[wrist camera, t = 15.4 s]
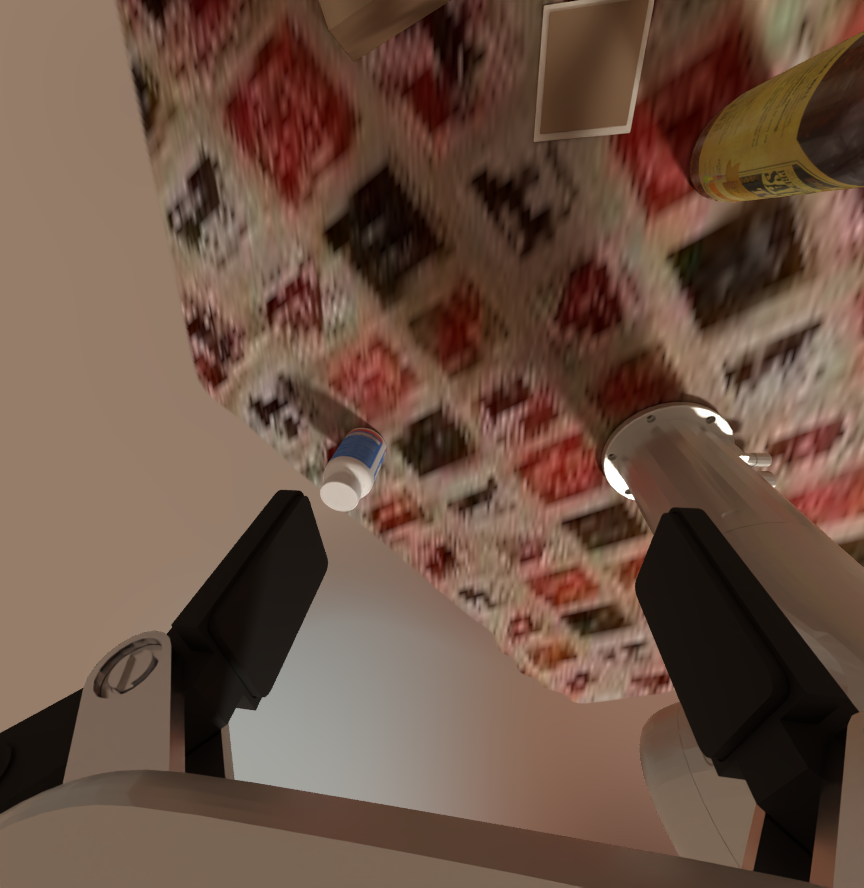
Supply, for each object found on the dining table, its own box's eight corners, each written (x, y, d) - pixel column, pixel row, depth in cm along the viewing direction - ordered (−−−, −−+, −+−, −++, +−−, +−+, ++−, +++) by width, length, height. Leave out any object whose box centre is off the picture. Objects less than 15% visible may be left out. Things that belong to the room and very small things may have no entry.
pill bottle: (338, 430, 43) (303, 478, 34) (378, 422, 41) (351, 470, 33) (355, 466, 45) (326, 519, 37) (393, 459, 44) (372, 513, 36)
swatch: (655, -10, 22) (658, -14, 21) (629, 133, 25) (631, 131, 25) (543, 7, 23) (544, 3, 22) (533, 142, 26) (534, 141, 26)
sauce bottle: (676, 210, 27) (977, 183, 11) (695, 104, 24) (1166, -175, 7) (773, 194, 26) (1287, 135, 9) (806, 79, 23) (1673, -321, 6)
